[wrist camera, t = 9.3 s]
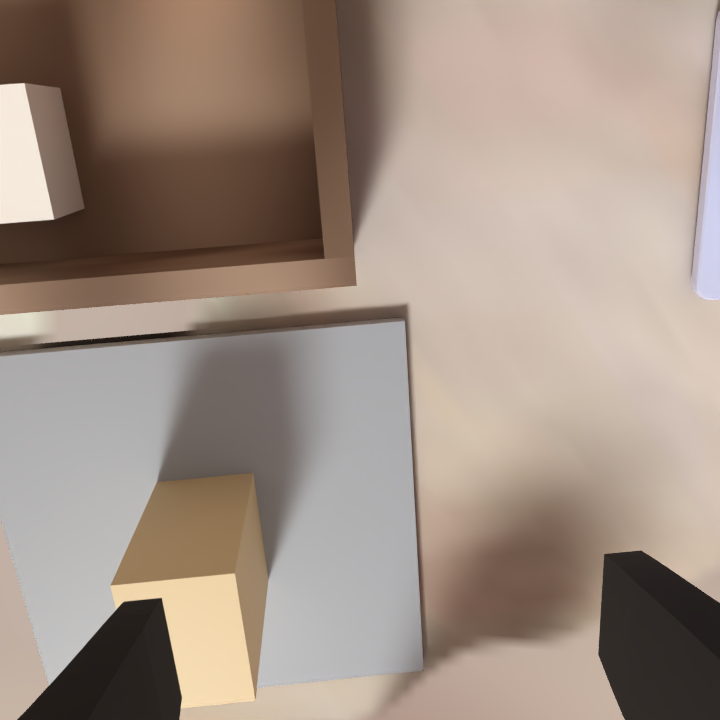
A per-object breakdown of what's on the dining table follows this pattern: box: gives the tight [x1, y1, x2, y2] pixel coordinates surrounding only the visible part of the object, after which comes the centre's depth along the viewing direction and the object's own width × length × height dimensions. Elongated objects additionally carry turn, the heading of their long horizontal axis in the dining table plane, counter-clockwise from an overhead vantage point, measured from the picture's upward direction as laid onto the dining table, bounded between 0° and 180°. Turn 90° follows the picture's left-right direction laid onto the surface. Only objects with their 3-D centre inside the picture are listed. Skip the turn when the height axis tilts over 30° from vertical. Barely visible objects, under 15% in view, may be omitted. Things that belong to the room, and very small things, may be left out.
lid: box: [0, 317, 424, 708], centre depth 20 cm, size 13×13×6 cm
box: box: [0, 0, 357, 315], centre depth 16 cm, size 12×12×4 cm
